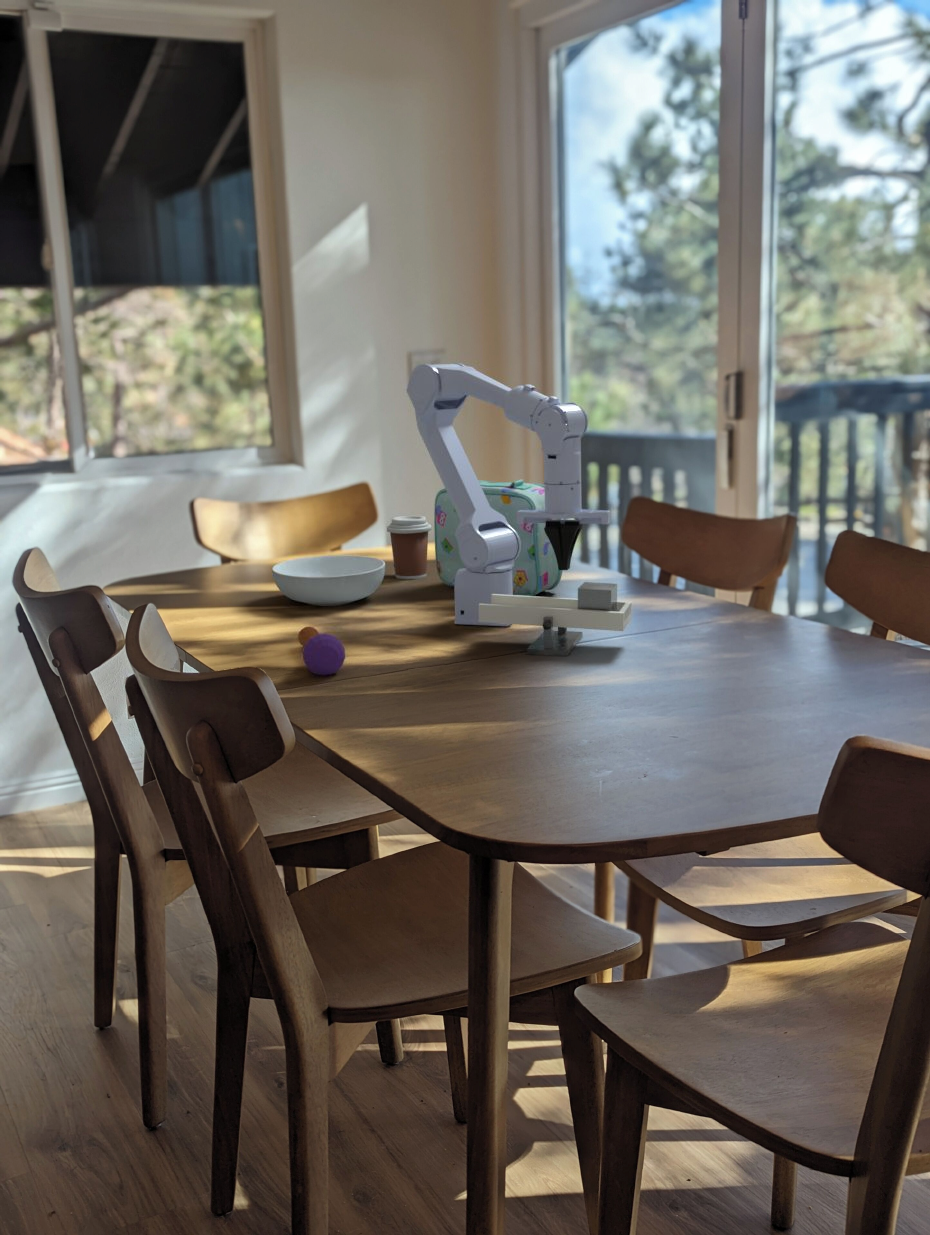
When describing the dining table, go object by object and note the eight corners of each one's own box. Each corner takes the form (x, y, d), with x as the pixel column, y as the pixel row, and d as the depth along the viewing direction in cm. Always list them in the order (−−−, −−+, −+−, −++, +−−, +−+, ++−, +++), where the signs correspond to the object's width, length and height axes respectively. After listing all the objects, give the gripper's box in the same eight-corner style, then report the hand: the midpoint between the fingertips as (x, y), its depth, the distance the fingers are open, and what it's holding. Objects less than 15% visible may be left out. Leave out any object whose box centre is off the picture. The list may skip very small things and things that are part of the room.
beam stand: (527, 654, 170) (526, 618, 169) (545, 634, 181) (544, 601, 180) (566, 656, 168) (566, 619, 167) (582, 636, 179) (582, 602, 178)
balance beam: (478, 621, 173) (478, 604, 172) (492, 610, 181) (492, 593, 180) (623, 631, 167) (623, 613, 166) (631, 619, 174) (631, 601, 174)
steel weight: (577, 617, 170) (577, 588, 169) (584, 610, 175) (584, 581, 174) (610, 620, 169) (611, 590, 168) (616, 612, 173) (617, 583, 172)
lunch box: (574, 593, 212) (574, 478, 207) (541, 603, 204) (540, 484, 199) (464, 579, 229) (461, 471, 224) (430, 587, 221) (426, 477, 216)
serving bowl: (252, 609, 206) (249, 572, 205) (309, 587, 225) (307, 553, 223) (354, 616, 198) (352, 577, 197) (405, 592, 217) (404, 557, 216)
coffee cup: (379, 578, 232) (377, 519, 229) (405, 570, 239) (403, 514, 236) (417, 582, 227) (414, 522, 224) (441, 574, 234) (439, 516, 232)
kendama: (329, 620, 179) (350, 639, 160) (325, 657, 180) (345, 680, 160) (291, 616, 177) (308, 635, 158) (287, 654, 178) (303, 677, 159)
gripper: (510, 485, 176) (513, 572, 178) (603, 485, 171) (604, 574, 174) (522, 480, 182) (524, 564, 185) (612, 480, 178) (613, 566, 180)
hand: (564, 569), depth 180 cm, fingers closed
